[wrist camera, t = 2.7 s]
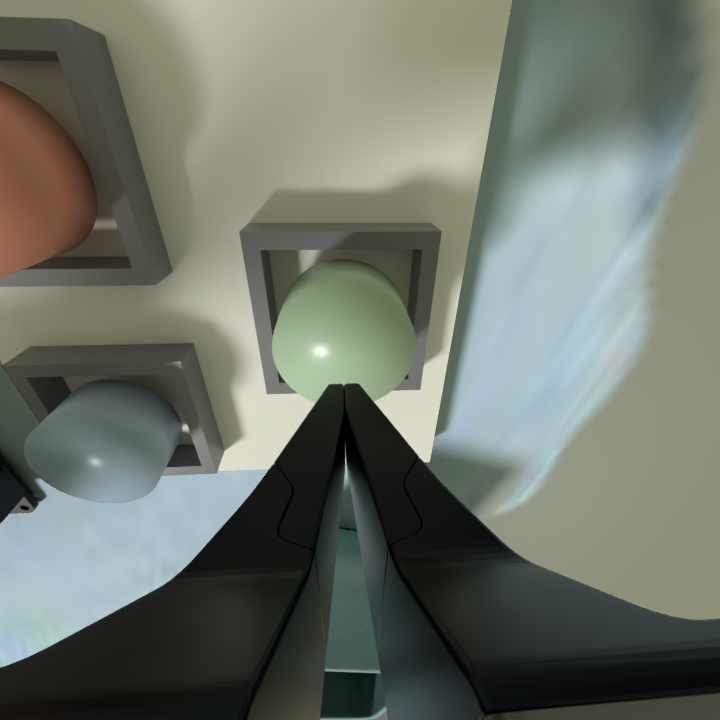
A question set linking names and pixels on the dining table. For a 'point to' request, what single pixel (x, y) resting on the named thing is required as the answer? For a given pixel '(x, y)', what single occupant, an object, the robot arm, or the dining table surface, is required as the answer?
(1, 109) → the brick button
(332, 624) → the flower pot
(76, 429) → the slate button
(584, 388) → the dining table surface
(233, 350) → the button panel
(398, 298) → the sage button
